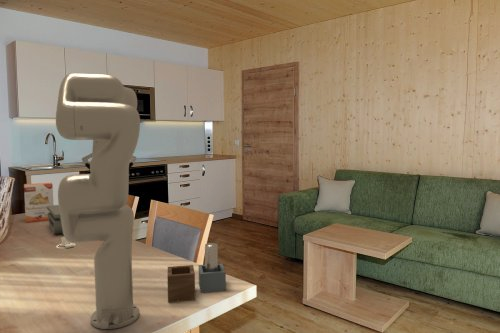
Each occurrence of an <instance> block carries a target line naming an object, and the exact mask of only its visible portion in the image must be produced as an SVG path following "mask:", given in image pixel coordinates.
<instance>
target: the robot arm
mask: <svg viewBox="0 0 500 333" xmlns="http://www.w3.org/2000/svg"><path fill="white" fill-rule="evenodd" d="M137 108H138V97H137V94H136V92H135V90H134V89H133V88H130V87H128V86H127V87H126V86H124V84H123V82H121V80H120V79H119V78H117V76H116V77H115V76H113V75H110V74H105V73H104V74H102V73H82V72H80V73H79V72H72V73H68V74H66V75H65V76H64V77H63V79H62V80H61V83H60V87H59V90H58V97H57V105H56V112H55V127H56V130H57V132H58V134H59V135H60V136H61V138H63V139H65V140H69V141H70V140H71V141H81V140H82V141H83V140H84V141H86V140H87V141H88V140H89V141H92V151H91V153H89V154H87V155H85V156H83V157H82V158H81V160H82V162H83V164H84V166H85V167H86V168H87V169H89V171H90V173H80V174H78V173H77V174H75V173H74V174H70V175H66V176H64V177H63V178H62V179H61V181H60V182H59V184H58V190H57V202H58V203H57V205H59V210H60V217H61V224H62V230H63V233H62V234H63V237H65V239H66V240H67V241H69V243H75V244H76V243H77V244H78V243H88V242H102V241H103V242H102V243H101V245H100V246H99V247H98V249H97V251H96V252H95V254H94V259H93V260H94V261H93V262H94V265H93V266H94V268H93V269H94V285H95V286H94V287H95V288H94V289H95V311H94V312H93V313H92V314H91V315H90V319H89V320H90V325H92V326H93V327H94V328H97V329H101V330H114V329H120V328H122V327H126V326H128V325H130V324H132V323H134V322H135V321H136V320H138V319H139V317H140V309H139V307H138V306H137V305H135V304H134V291H133V290H134V288H133V251H132V250H133V248H132V247H133V232H134V223H135V213H134V211H133V209H132V207H131V206H130V205H128V204H127V203H128V199H129V183H130V182H129V178H130V177H129V176H130V175H129V174H130V169H131V168H132V167H133V166H134V164H135V162H136V161H137V157H136V156H135V155H134V153H135V151H136V149H137V146H138V142H139V138H140V130H141V117H140V113H139V111H138V110H137ZM89 159H91V160H90V162H89Z"/></svg>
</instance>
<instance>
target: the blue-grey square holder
mask: <svg viewBox="0 0 500 333" xmlns="http://www.w3.org/2000/svg"><path fill="white" fill-rule="evenodd" d="M226 274H227V273H226V270H225V267H224V264H223V263H218V272H205V264H198V286H199V292H200V293H211V292H221V291H226V288H227V286H226V285H227V280H226V278H227V276H226Z"/></svg>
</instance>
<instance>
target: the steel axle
mask: <svg viewBox="0 0 500 333" xmlns="http://www.w3.org/2000/svg"><path fill="white" fill-rule="evenodd" d="M218 255H219V254H218V244H217V242H216V243H215V242H208V243H205V244H204V258H205V259H204V265H205V272H218V264H219V263H218V262H219V261H218Z"/></svg>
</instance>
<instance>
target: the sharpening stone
mask: <svg viewBox="0 0 500 333" xmlns="http://www.w3.org/2000/svg"><path fill="white" fill-rule="evenodd" d="M47 209H48V211H49V213H48V220H47V221H48V224H49V226H48V227H49V229H50V232H51V233H52V234H53V235H58V234H63V230H62V224H61V217H60V210H59V204H55V205H54V204H53V206H47Z"/></svg>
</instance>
